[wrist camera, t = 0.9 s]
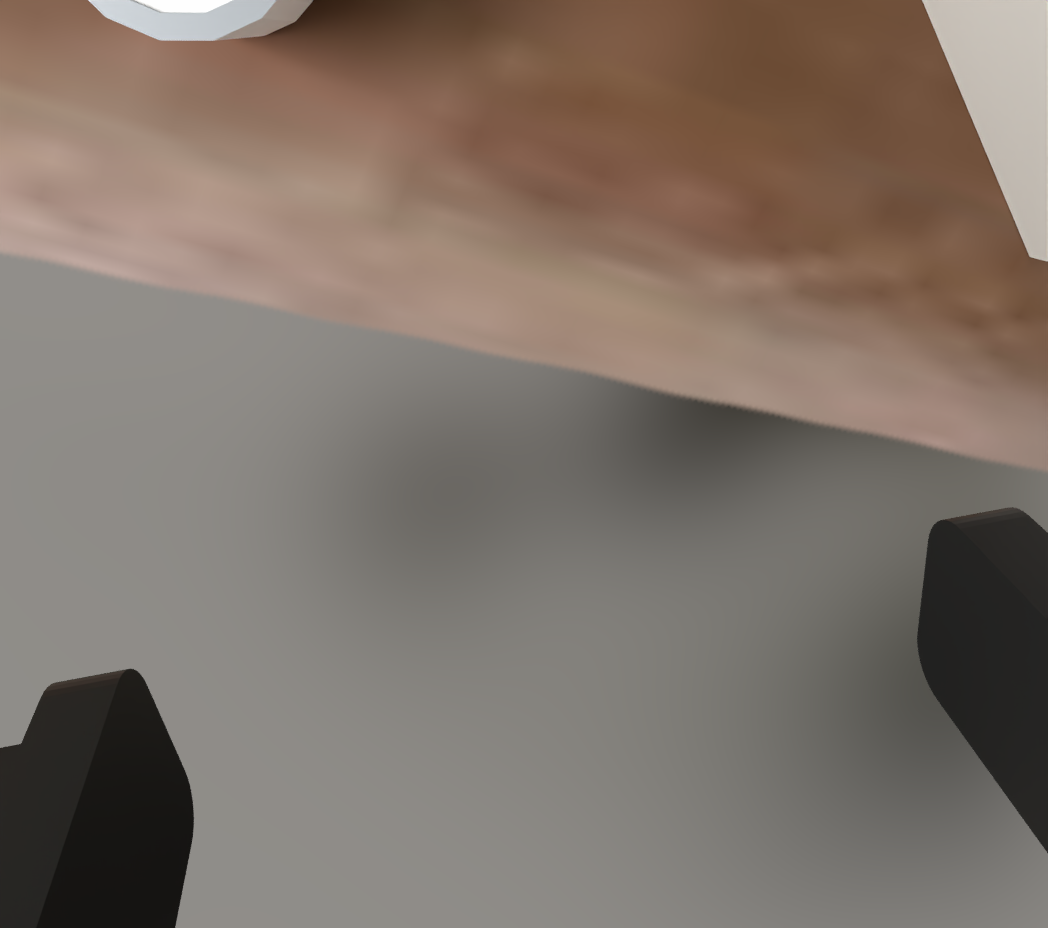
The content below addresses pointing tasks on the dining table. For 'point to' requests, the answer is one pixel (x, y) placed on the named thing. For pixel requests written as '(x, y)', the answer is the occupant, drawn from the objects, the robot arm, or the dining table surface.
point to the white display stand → (1005, 96)
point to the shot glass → (203, 17)
